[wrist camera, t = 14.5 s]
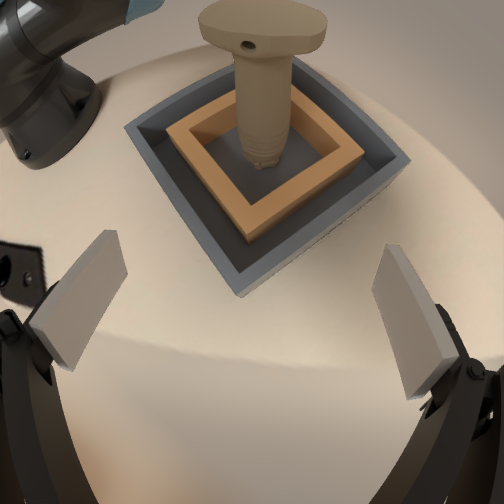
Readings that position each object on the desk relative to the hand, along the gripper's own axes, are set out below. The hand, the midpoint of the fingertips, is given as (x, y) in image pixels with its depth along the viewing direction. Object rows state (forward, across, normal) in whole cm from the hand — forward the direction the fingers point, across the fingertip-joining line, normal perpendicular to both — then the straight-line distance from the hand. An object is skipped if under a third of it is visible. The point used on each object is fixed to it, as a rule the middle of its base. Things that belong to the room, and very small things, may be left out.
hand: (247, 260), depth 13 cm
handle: (+15, 0, +1) cm, 15 cm away
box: (+15, 0, +1) cm, 15 cm away
